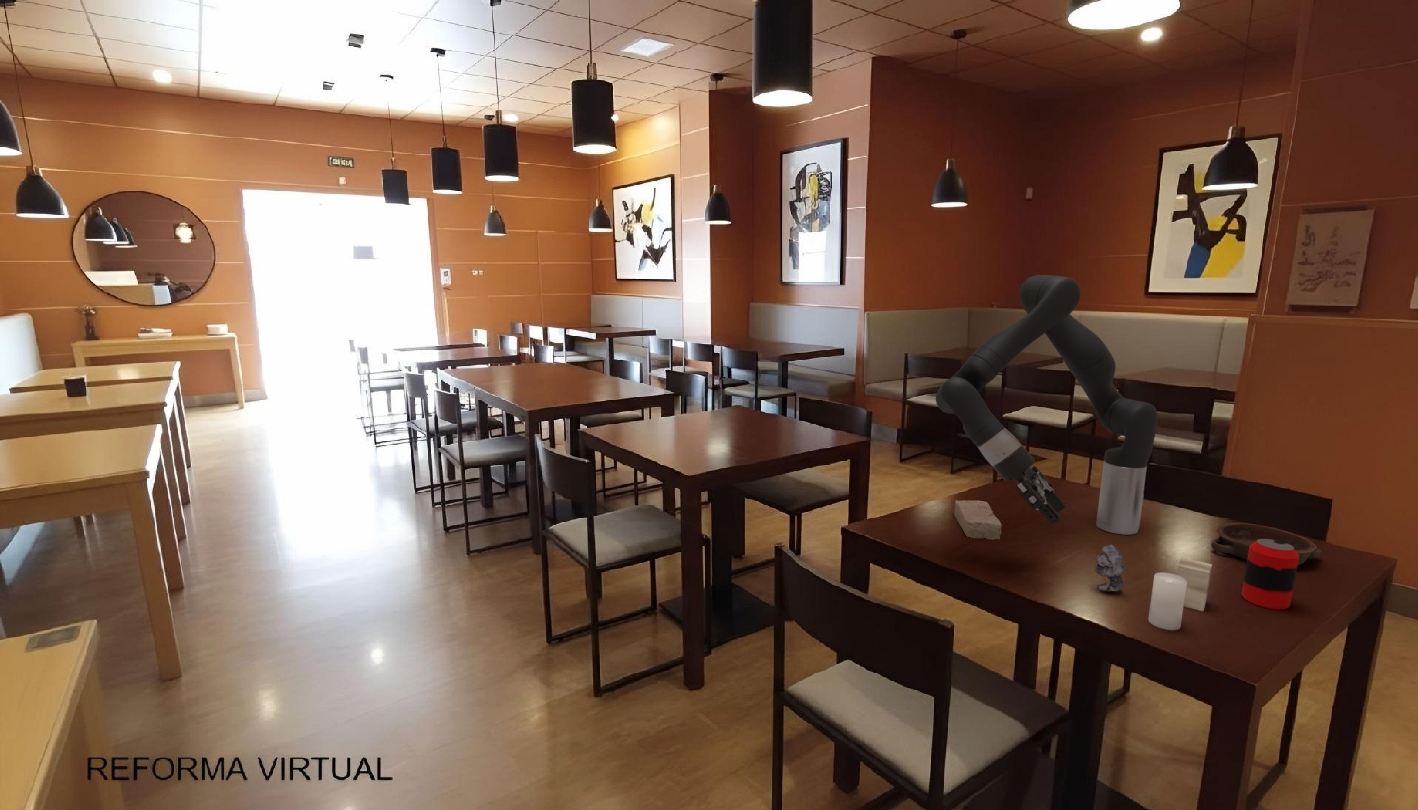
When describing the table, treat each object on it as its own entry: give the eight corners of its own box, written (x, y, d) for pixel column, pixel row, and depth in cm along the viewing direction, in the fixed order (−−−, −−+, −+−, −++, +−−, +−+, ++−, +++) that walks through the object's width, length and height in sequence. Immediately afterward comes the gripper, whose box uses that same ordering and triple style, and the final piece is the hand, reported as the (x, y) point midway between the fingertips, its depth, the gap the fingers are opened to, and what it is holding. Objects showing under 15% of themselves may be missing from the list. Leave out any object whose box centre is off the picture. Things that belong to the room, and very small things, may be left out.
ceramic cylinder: (1157, 614, 130) (1163, 570, 128) (1185, 625, 126) (1192, 580, 124) (1142, 620, 127) (1148, 575, 126) (1171, 632, 123) (1178, 586, 121)
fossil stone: (1112, 598, 136) (1118, 551, 134) (1087, 587, 141) (1092, 542, 139) (1128, 592, 138) (1134, 546, 136) (1103, 582, 143) (1108, 537, 141)
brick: (1002, 540, 166) (1003, 522, 165) (966, 538, 167) (967, 520, 166) (985, 517, 182) (986, 500, 181) (952, 515, 183) (954, 498, 182)
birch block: (1175, 594, 138) (1181, 557, 136) (1206, 602, 135) (1212, 564, 133) (1172, 603, 134) (1178, 565, 133) (1203, 611, 131) (1209, 572, 129)
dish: (1189, 539, 167) (1192, 520, 166) (1287, 544, 164) (1290, 524, 163) (1234, 569, 150) (1237, 548, 149) (1344, 575, 147) (1348, 553, 146)
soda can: (1295, 603, 134) (1306, 546, 132) (1281, 614, 130) (1291, 555, 128) (1250, 588, 140) (1259, 534, 138) (1234, 598, 136) (1244, 542, 134)
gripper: (1013, 451, 139) (1070, 515, 135) (1026, 437, 150) (1078, 496, 146) (984, 472, 143) (1038, 535, 139) (998, 456, 154) (1049, 514, 150)
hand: (1059, 515), depth 142 cm, fingers open, 8 cm apart
